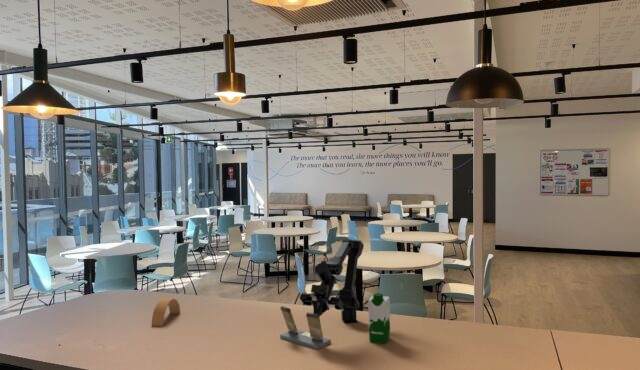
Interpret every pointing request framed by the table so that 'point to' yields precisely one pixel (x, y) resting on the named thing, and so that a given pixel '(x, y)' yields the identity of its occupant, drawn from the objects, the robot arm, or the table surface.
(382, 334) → the milk carton
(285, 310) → the lever
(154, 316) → the arch
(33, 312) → the table surface
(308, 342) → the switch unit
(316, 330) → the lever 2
